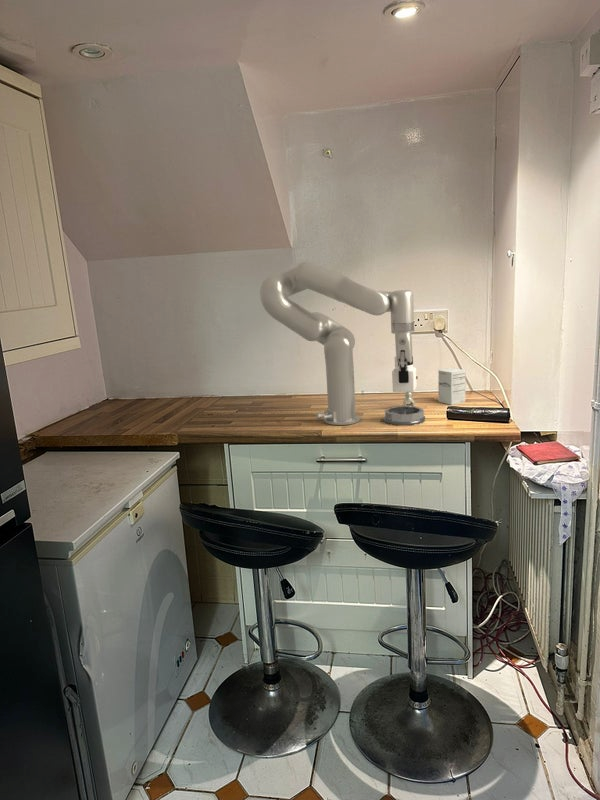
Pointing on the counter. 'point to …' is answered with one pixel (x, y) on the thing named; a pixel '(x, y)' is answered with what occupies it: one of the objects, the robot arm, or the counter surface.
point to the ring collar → (404, 415)
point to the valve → (409, 398)
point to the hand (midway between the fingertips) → (404, 380)
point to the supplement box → (452, 386)
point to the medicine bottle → (404, 386)
